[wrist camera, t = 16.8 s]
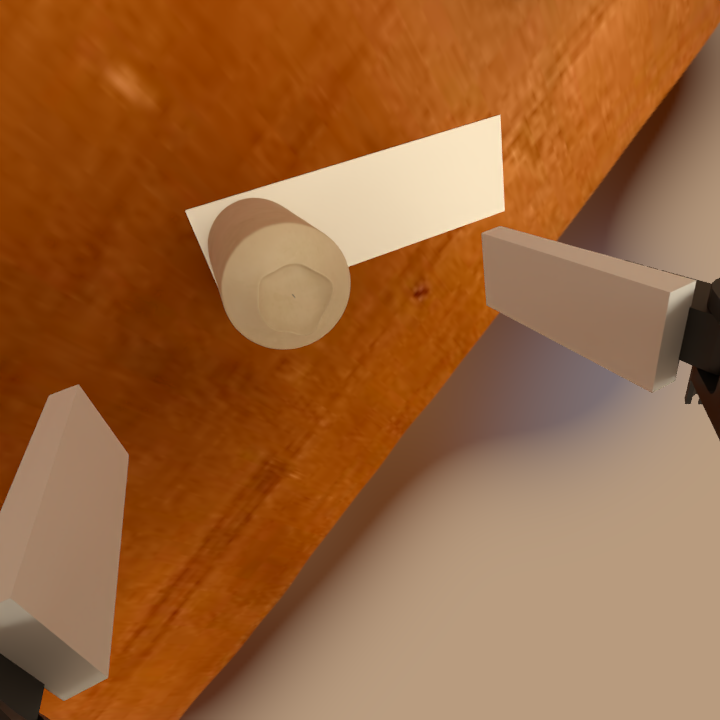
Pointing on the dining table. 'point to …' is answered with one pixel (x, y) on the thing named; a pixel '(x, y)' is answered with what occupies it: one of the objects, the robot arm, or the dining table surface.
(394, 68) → the dining table surface
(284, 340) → the candle
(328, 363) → the dining table surface
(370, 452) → the dining table surface
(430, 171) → the test strip
